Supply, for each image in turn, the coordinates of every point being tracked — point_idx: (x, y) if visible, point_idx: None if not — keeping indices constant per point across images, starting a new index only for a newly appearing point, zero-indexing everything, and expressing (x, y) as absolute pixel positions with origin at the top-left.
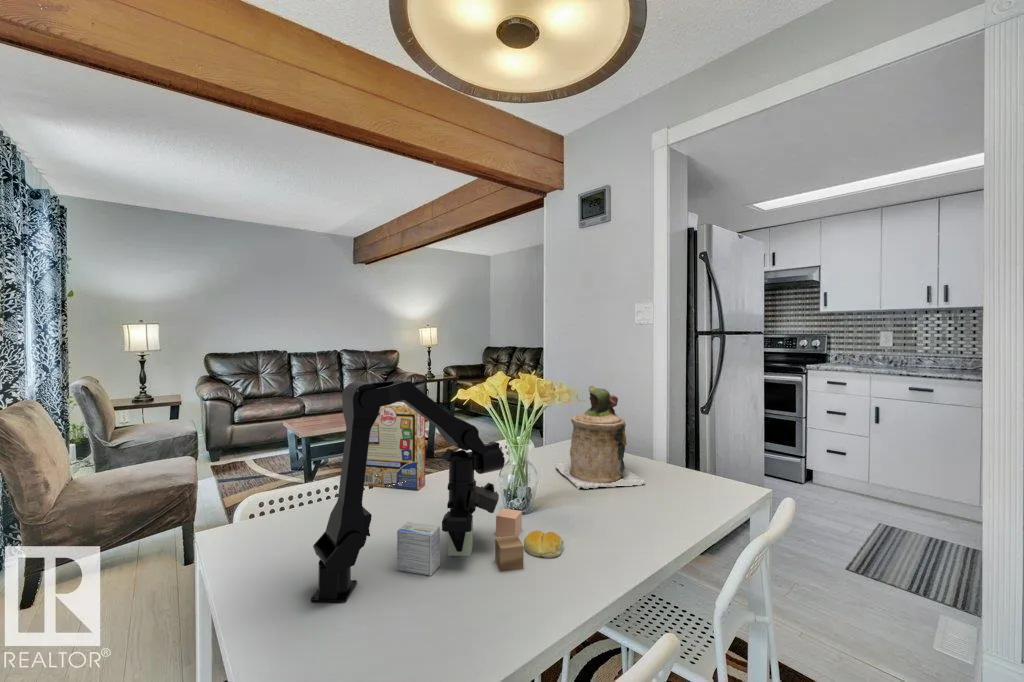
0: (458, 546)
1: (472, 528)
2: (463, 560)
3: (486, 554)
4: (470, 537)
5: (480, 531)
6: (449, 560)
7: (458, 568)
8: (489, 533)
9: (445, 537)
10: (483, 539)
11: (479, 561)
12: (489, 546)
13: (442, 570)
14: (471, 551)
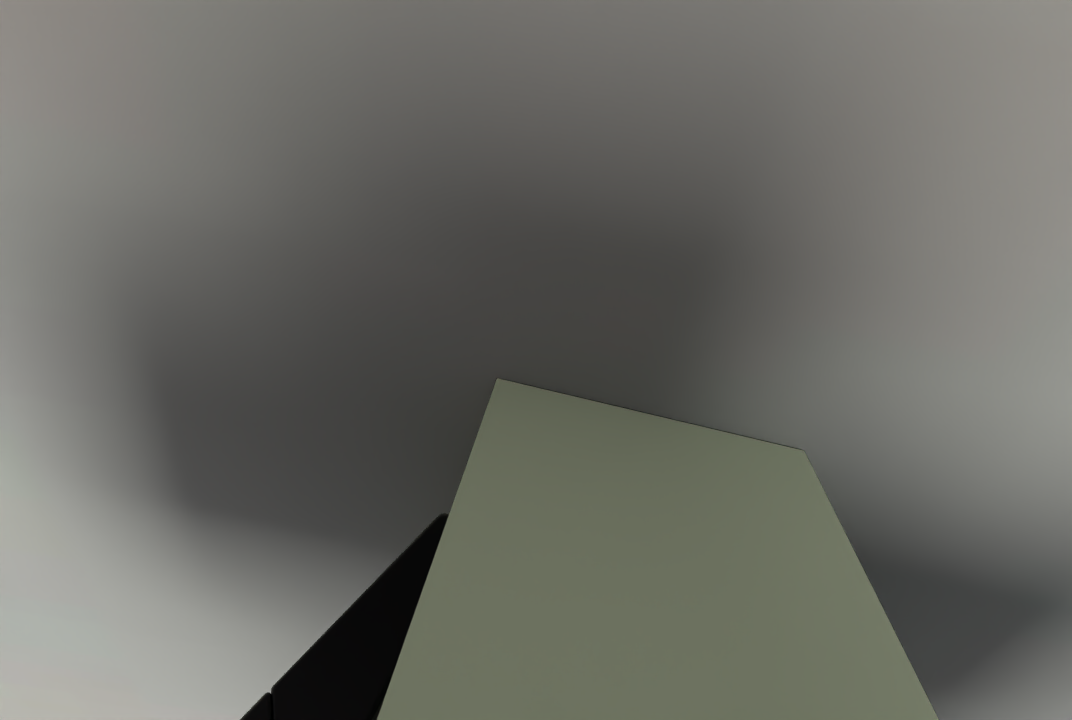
0: None
1: (515, 677)
2: (879, 536)
3: (880, 228)
4: None
5: (27, 186)
6: None
7: (1037, 605)
8: (50, 15)
9: (290, 583)
10: (312, 184)
11: (1046, 376)
12: (594, 114)
13: (968, 702)
14: (690, 425)
